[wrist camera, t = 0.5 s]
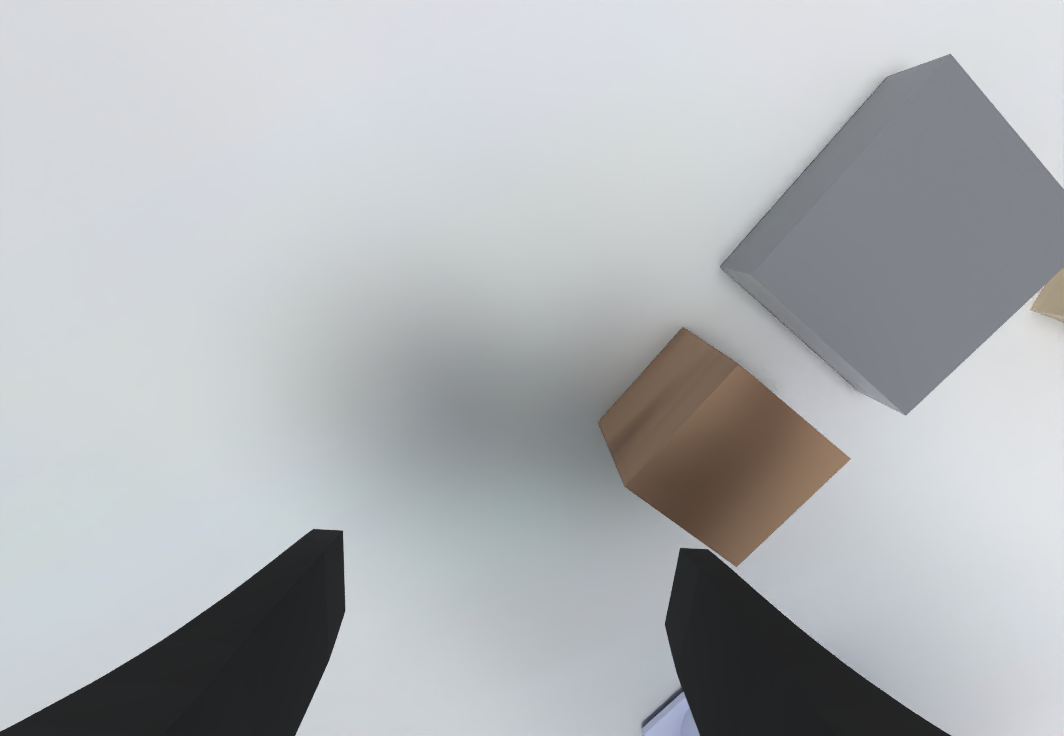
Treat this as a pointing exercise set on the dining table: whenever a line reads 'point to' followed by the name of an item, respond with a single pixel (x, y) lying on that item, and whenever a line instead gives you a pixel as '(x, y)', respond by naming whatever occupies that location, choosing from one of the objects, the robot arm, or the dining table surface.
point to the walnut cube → (715, 448)
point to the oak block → (1052, 298)
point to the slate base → (908, 236)
